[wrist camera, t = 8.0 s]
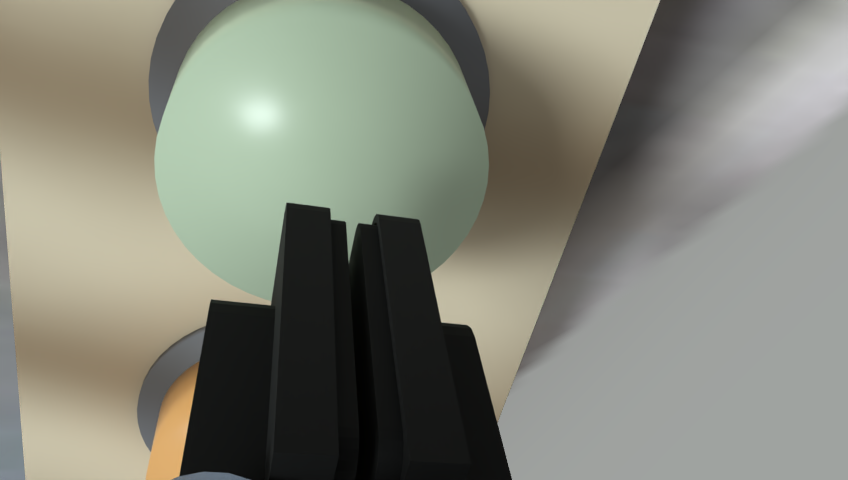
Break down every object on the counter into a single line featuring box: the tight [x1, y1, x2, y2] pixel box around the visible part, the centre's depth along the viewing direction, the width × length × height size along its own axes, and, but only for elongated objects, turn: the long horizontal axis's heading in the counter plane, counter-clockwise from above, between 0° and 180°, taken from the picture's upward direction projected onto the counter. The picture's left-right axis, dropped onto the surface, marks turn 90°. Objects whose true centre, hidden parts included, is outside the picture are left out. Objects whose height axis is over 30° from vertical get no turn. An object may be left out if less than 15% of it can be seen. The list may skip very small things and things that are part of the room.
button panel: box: [0, 0, 660, 480], centre depth 15 cm, size 25×11×3 cm, turn 167°
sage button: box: [154, 0, 489, 301], centre depth 13 cm, size 5×5×2 cm
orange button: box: [146, 362, 199, 480], centre depth 18 cm, size 5×5×2 cm
